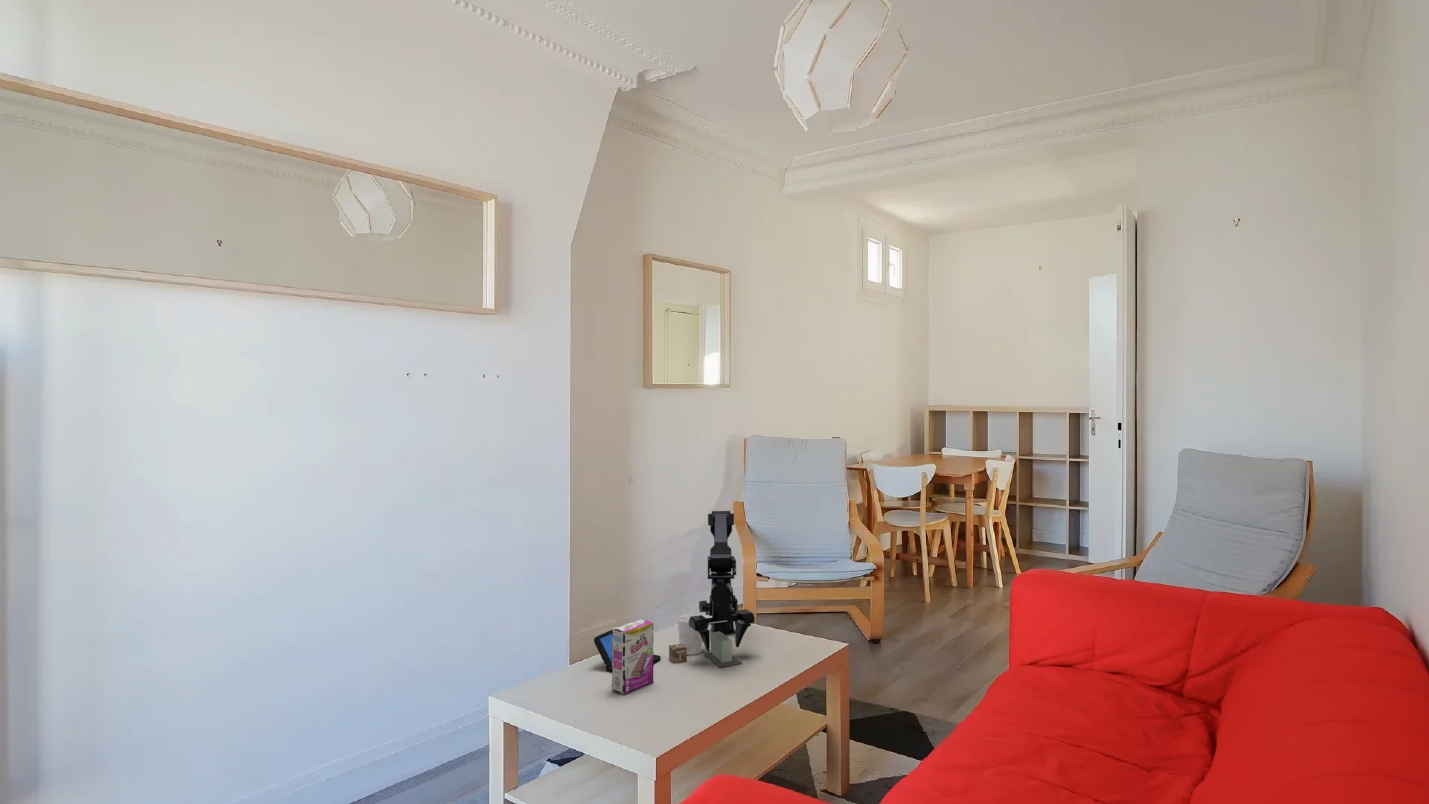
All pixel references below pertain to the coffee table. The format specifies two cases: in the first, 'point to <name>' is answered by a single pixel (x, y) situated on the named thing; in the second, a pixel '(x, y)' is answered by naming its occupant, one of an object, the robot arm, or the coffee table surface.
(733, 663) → the dark gray panel
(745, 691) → the coffee table surface
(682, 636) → the white cup
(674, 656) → the letter block
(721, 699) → the coffee table surface
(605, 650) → the game console
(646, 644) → the candy bar box
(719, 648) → the sage rectangular block
